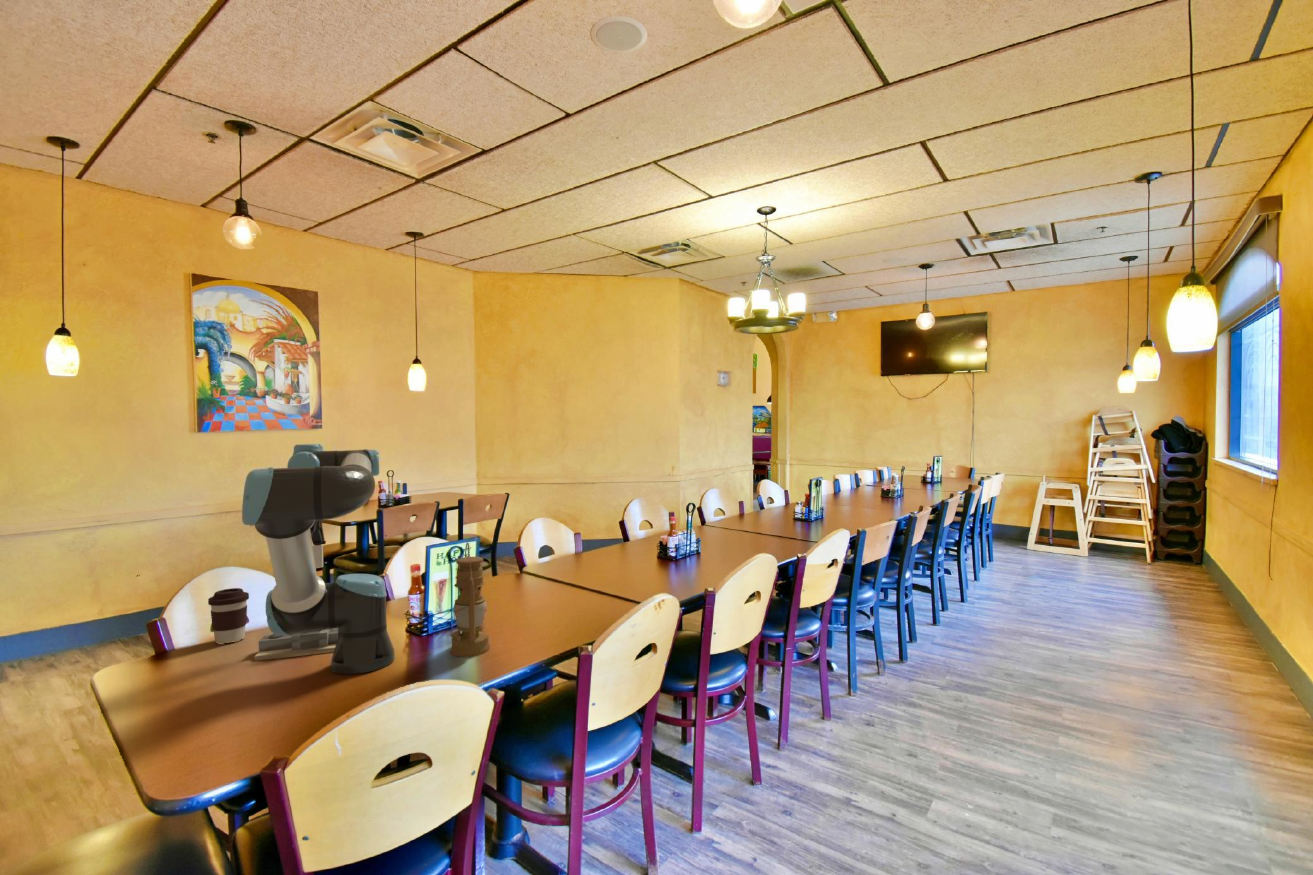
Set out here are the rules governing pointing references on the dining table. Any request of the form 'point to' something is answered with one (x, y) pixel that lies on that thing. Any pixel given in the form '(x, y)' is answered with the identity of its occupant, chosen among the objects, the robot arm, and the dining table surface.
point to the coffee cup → (229, 614)
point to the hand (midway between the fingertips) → (311, 572)
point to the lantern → (469, 609)
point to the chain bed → (293, 653)
